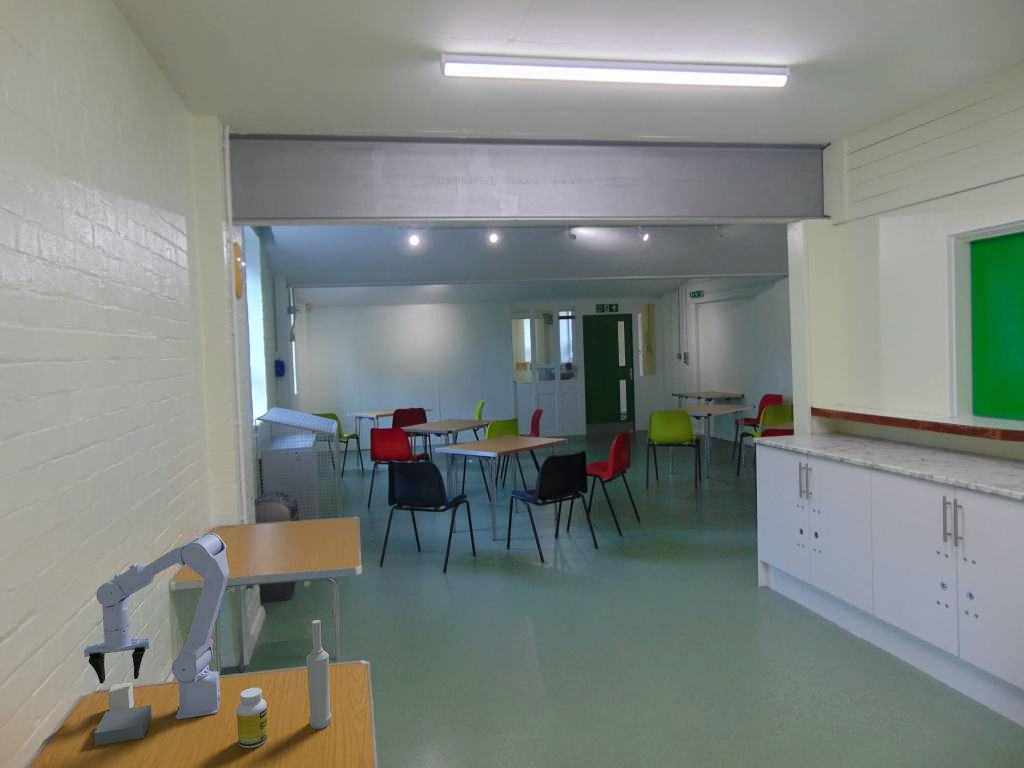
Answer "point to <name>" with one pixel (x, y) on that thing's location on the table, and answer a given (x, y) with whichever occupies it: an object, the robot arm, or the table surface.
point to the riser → (123, 725)
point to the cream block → (121, 696)
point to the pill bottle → (252, 718)
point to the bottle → (318, 681)
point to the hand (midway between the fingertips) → (119, 679)
